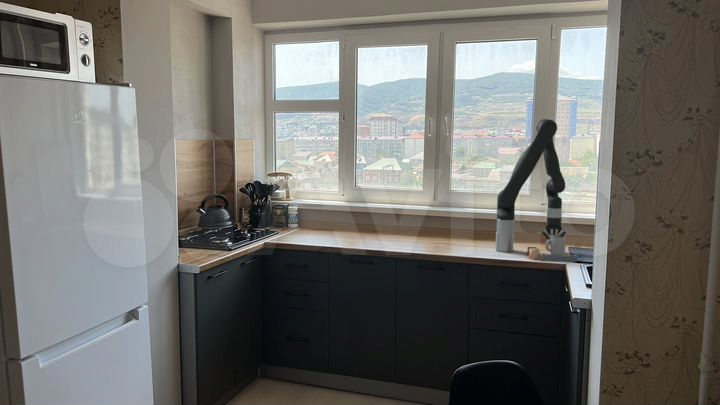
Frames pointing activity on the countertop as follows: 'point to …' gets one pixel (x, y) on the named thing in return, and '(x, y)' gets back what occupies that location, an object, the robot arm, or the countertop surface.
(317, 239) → the countertop surface
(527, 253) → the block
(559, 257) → the stand
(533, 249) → the tan rounded lump
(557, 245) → the cup
